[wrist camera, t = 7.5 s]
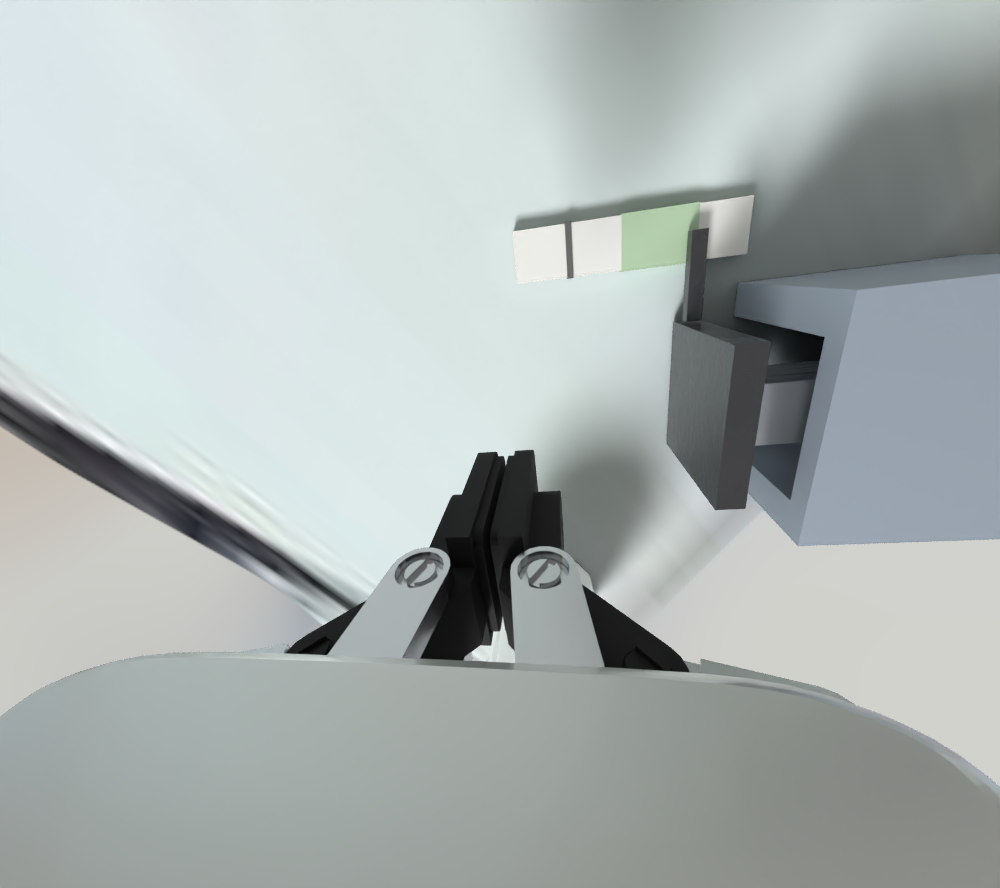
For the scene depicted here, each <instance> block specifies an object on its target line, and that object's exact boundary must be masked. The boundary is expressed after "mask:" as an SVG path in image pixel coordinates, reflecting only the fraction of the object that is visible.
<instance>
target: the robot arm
mask: <svg viewBox="0 0 1000 888" xmlns="http://www.w3.org/2000/svg"><path fill="white" fill-rule="evenodd" d="M502 618H503V620H504V626H505V631H506V634H507V640H508V645H509V646H510V647H511V648H512V649H513V650H514V651H515V663H506V662H484V661H472V651H473V650H474V649H476V648H477V647H478V646H480V645H490V646H491V644H492V638H493V632H499V631H500V630H501V625H502ZM0 888H1000V787H999V786H998V785H997V784H996V783H995V782H994V781H993V780H991V779H990V778H989V777H988V776H986V775H985V774H984V773H982V772H981V771H980V770H979V769H977V768H976V767H975V766H973V765H972V764H971V763H969V762H968V761H967V760H965V759H964V758H963V757H961V756H960V755H958V754H957V753H955V752H953V751H952V750H950V749H949V748H947V747H945V746H944V745H942V744H940V743H939V742H937V741H936V740H934V739H932V738H930V737H928V736H926V735H924V734H922V733H920V732H918V731H916V730H914V729H912V728H910V727H908V726H906V725H904V724H902V723H900V722H897V721H895V720H893V719H890V718H888V717H886V716H883V715H881V714H879V713H876V712H873V711H871V710H868V709H865V708H862V707H859V706H856V705H855V704H853V703H852V702H850V701H849V700H847V699H845V698H844V697H842V696H840V695H839V694H838V693H835V692H832V691H830V690H827V689H824V688H821V687H819V686H814V685H810V684H806V683H802V682H798V681H793V680H789V679H785V678H781V677H776V676H772V675H768V674H764V673H759V672H755V671H751V670H747V669H742V668H738V667H734V666H730V665H725V664H721V663H717V662H713V661H709V660H704V659H701V660H700V665H699V664H695V663H691V662H687V661H683V659H682V658H681V657H680V656H679V655H678V654H677V653H676V652H675V651H674V650H673V649H672V648H671V647H669V646H668V645H666V644H665V643H664V642H662V641H661V640H659V639H658V638H657V637H655V636H654V635H652V634H651V633H650V632H648V631H647V630H645V629H644V628H643V627H641V626H640V625H638V624H637V623H636V622H634V621H633V620H631V619H630V618H629V617H627V616H626V615H624V614H623V613H622V612H620V611H619V610H617V609H616V608H615V607H613V606H612V605H610V604H609V603H608V602H606V601H605V600H603V599H602V598H601V597H599V596H598V595H596V594H595V593H594V592H592V591H591V590H589V589H588V588H587V587H585V586H584V585H582V583H581V580H580V576H579V572H578V569H577V565H576V563H575V561H574V559H573V558H572V557H571V556H570V555H569V554H568V553H567V552H565V551H564V538H563V518H562V503H561V492H560V491H549V492H538V486H537V476H536V466H535V456H534V450H523V451H515V454H514V456H508V460H507V464H506V465H505V459H504V456H498V454H497V452H486V453H478V455H477V457H476V460H475V463H474V465H473V468H472V470H471V473H470V475H469V478H468V480H467V483H466V485H465V488H464V490H463V493H462V495H453V496H452V497H451V499H450V501H449V503H448V506H447V508H446V510H445V513H444V515H443V517H442V519H441V522H440V524H439V526H438V529H437V531H436V533H435V536H434V538H433V540H432V543H431V545H430V547H429V548H421V549H416V550H413V551H411V552H409V553H406V554H405V555H403V556H402V557H400V558H399V559H398V560H397V561H396V562H395V563H394V564H393V565H392V566H391V568H390V569H389V570H388V572H387V573H386V575H385V576H384V577H383V579H382V580H381V581H380V583H379V584H378V586H377V587H376V588H375V590H374V591H373V593H372V594H371V595H370V597H369V598H368V599H367V600H366V601H365V602H363V603H361V604H359V605H358V606H356V607H354V608H352V609H351V610H349V611H347V612H346V613H344V614H342V615H340V616H339V617H337V618H335V619H333V620H332V621H330V622H328V623H327V624H325V625H323V626H321V627H320V628H318V629H316V630H315V631H313V632H311V633H309V634H308V635H306V636H305V637H303V638H302V639H300V640H299V641H297V642H296V643H295V644H294V645H293V646H292V647H291V648H290V647H289V645H288V644H281V645H276V646H271V647H265V648H260V649H254V650H249V651H243V652H187V653H186V652H183V653H166V654H157V655H146V656H140V657H135V658H129V659H124V660H119V661H115V662H110V663H107V664H103V665H100V666H97V667H93V668H90V669H87V670H84V671H80V672H78V673H75V674H73V675H70V676H67V677H65V678H63V679H60V680H58V681H56V682H54V683H51V684H49V685H47V686H45V687H43V688H41V689H39V690H37V691H36V692H34V693H33V694H31V695H29V696H28V697H26V698H25V699H24V700H23V701H21V702H19V703H18V704H17V705H15V706H14V707H12V708H11V709H10V710H8V711H7V712H6V713H5V714H3V715H2V716H0Z"/></svg>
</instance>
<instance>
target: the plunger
mask: <svg viewBox="0 0 1000 888" xmlns="http://www.w3.org/2000/svg"><path fill="white" fill-rule="evenodd" d="M708 235H709V228H704V229H697V230H691V231H688V238H687V254H686V269H685V285H684V301H683V316H682V321H675V322H673V335H672V353H671V371H670V390H669V408H668V426H667V445H668V446H669V447H670V449H671V450H672V452H673V453H674V454H675V456H676V457H677V458H678V460H679V461H680V463H681V464H682V465H683V467H684V468H685V469H686V471H687V472H688V473H689V475H690V476H691V478H692V479H693V480H694V482H695V483H696V484H697V486H698V487H699V488H700V490H701V491H702V493H703V494H704V495H705V497H706V498H707V499H708V501H709V502H710V504H711V505H712V506H713V508H714V509H715V510H726V509H745V507H746V501H747V494H748V488H749V482H750V475H751V469H752V462H753V456H754V450H755V446H758V445H773V444H788V443H803V438H804V434H805V429H806V424H807V419H808V414H809V410H810V405H811V400H812V395H813V391H814V386H815V381H816V376H817V372H818V367H819V362H820V360H817V361H806V362H795V363H785V364H774V365H768V360H769V354H770V347H771V341H768V340H765V339H761V338H758V337H755V336H751V335H748V334H745V333H742V332H738V331H735V330H732V329H729V328H725V327H722V326H719V325H715V324H712V323H709V322H706V321H702V320H701V319H702V307H703V295H704V283H705V271H706V259H707V247H708Z"/></svg>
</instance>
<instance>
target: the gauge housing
mask: <svg viewBox="0 0 1000 888" xmlns="http://www.w3.org/2000/svg"><path fill="white" fill-rule="evenodd" d="M753 201H754V195H750V196H743V197H737V198H730V199H724V200H717V201H710V202H704V203H701V202H695V203H688V204H682V205H675V206H669V207H662V208H656V209H649V210H642V211H636V212H629V213H623V214H620V215H618V216H612V217H605V218H598V219H592V220H585V221H579V222H572V223H571V221H570V222H565V223H564V224H559V225H552V226H546V227H539V228H533V229H526V230H519V231H513V232H512V235H513V246H514V256H515V266H516V276H517V284H523V283H530V282H538V281H545V280H553V279H561V278H567V279H569V278H573V277H576V276H583V275H591V274H598V273H606V272H613V271H619V272H622V271H629V270H637V269H645V268H652V267H660V266H667V265H675V264H682V263H686V254H687V238H688V231H691V230H697V229H704V228H709V235H708V247H707V259H712V258H719V257H727V256H734V255H742V254H747V251H748V242H749V234H750V226H751V218H752V209H753ZM734 316H736V317H741V318H745V319H749V320H753V321H758V322H762V323H766V324H771V325H775V326H779V327H784V328H788V329H792V330H796V331H801V332H805V333H809V334H814V335H818V336H822V337H825V338H824V343H823V348H822V353H821V357H820V362H819V367H818V372H817V376H816V381H815V386H814V391H813V395H812V400H811V405H810V410H809V414H808V419H807V424H806V429H805V434H804V438H803V443H788V444H773V445H758V446H755V450H754V456H753V462H752V469H751V475H750V482H749V488H748V493H749V494H750V495H751V496H752V498H753V499H754V500H755V501H756V502H757V503H758V504H759V505H760V506H761V507H762V508H763V509H764V510H765V511H766V513H767V514H768V515H769V516H770V517H771V518H772V519H773V520H774V521H775V522H776V523H777V524H778V525H779V526H780V527H781V528H782V530H783V531H784V532H785V533H786V534H787V535H788V536H789V537H790V538H791V539H792V540H793V541H794V542H795V543H796V544H797V546H811V545H839V544H840V545H841V544H870V543H900V542H928V541H959V540H988V539H1000V254H976V255H960V256H952V257H944V258H936V259H928V260H920V261H911V262H903V263H895V264H887V265H879V266H871V267H863V268H855V269H846V270H838V271H830V272H822V273H814V274H806V275H798V276H790V277H781V278H773V279H765V280H757V281H749V282H741V283H738V286H737V294H736V303H735V312H734Z"/></svg>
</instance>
